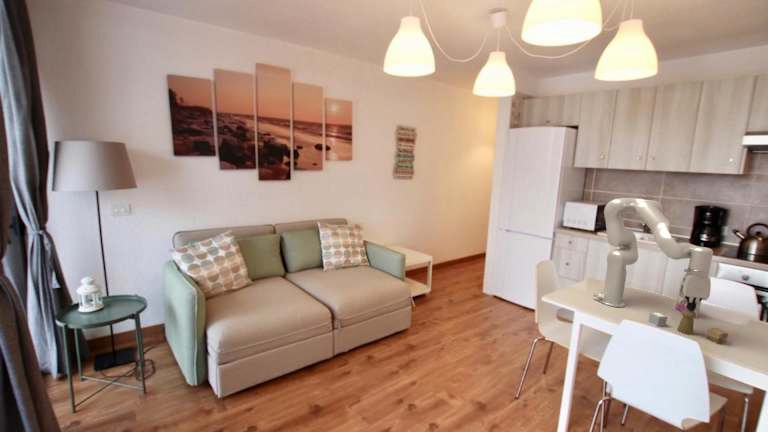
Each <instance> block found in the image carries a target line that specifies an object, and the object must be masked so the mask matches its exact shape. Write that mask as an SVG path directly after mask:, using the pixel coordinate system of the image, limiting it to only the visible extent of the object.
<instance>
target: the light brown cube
mask: <svg viewBox="0 0 768 432" xmlns="http://www.w3.org/2000/svg"><path fill="white" fill-rule="evenodd" d="M728 337H729V333H728V332H726V331H724V330H722V329H719V328H718V327H713V328H707V330H706V335H705V340H707V341H711V342H712V343H714V344H716V345H724V344H727V341H728Z"/></svg>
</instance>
